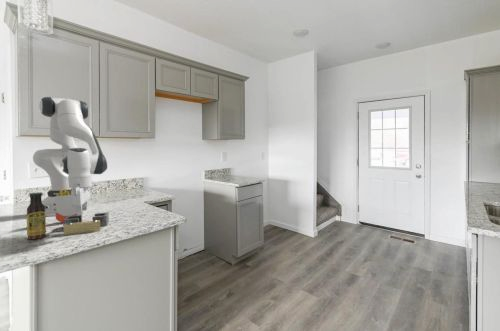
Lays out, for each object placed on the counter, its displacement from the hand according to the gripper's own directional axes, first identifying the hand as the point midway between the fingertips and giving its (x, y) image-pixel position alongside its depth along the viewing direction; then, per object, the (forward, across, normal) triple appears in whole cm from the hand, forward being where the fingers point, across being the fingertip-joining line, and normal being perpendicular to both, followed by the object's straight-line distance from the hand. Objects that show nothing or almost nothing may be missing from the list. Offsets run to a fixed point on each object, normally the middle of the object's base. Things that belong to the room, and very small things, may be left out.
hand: (82, 212), depth 114 cm
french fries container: (+9, +23, +11) cm, 27 cm away
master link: (+9, 0, 0) cm, 9 cm away
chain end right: (+9, +10, -6) cm, 15 cm away
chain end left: (+9, +10, +6) cm, 15 cm away
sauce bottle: (+10, 0, +17) cm, 20 cm away
